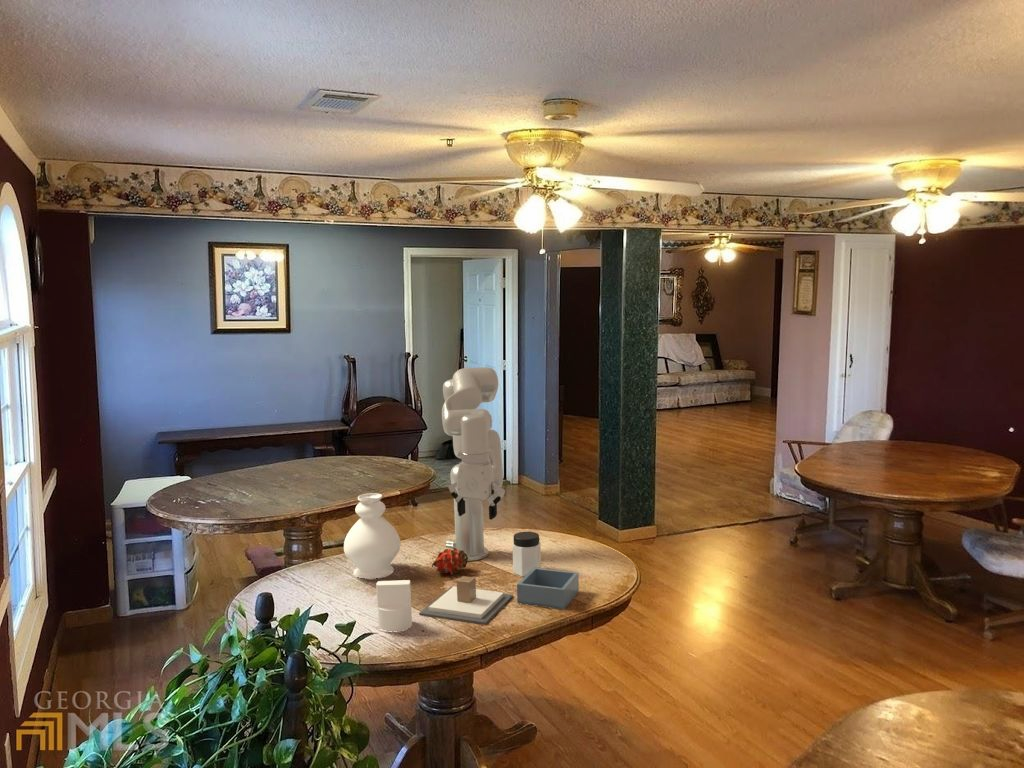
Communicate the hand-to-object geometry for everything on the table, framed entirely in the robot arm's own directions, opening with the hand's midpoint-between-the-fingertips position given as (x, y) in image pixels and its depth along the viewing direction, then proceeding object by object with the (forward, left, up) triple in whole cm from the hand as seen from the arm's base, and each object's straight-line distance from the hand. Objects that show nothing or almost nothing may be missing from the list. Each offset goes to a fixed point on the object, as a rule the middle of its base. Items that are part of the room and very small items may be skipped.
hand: (477, 516), depth 225 cm
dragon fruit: (-18, +17, -25) cm, 35 cm away
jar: (+5, +25, -25) cm, 36 cm away
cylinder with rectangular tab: (-15, -23, -25) cm, 37 cm away
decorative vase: (-42, +10, -25) cm, 50 cm away
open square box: (+18, +8, -25) cm, 32 cm away
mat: (-2, -5, -25) cm, 25 cm away
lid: (-2, -5, -24) cm, 25 cm away
